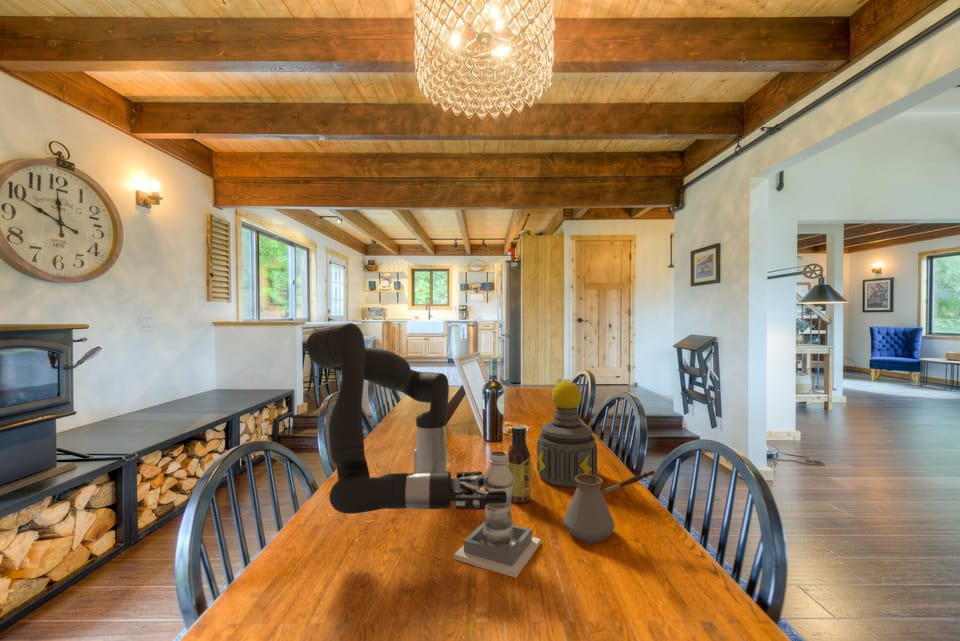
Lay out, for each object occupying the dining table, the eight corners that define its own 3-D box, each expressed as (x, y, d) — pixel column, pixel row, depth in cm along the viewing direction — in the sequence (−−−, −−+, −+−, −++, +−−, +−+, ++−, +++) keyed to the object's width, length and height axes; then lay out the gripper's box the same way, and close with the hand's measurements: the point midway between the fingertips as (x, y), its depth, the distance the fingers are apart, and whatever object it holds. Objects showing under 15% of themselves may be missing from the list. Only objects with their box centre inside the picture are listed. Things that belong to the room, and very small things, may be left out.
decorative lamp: (572, 462, 146) (572, 375, 146) (611, 482, 129) (610, 383, 129) (525, 471, 138) (524, 379, 138) (560, 493, 121) (559, 388, 121)
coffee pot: (567, 547, 93) (567, 478, 93) (560, 521, 105) (560, 460, 105) (667, 549, 92) (667, 480, 92) (649, 523, 104) (649, 462, 103)
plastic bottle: (481, 539, 95) (481, 449, 94) (511, 537, 95) (511, 448, 95) (483, 555, 88) (484, 459, 88) (516, 553, 89) (516, 458, 89)
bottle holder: (454, 559, 89) (454, 542, 89) (484, 528, 101) (484, 514, 101) (516, 577, 82) (516, 559, 82) (540, 543, 95) (540, 527, 95)
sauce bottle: (529, 505, 114) (529, 431, 114) (506, 503, 115) (505, 429, 115) (531, 495, 120) (531, 424, 120) (509, 493, 121) (509, 423, 121)
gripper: (425, 486, 84) (508, 484, 85) (431, 461, 98) (501, 459, 99) (426, 523, 84) (508, 521, 85) (431, 493, 98) (501, 492, 99)
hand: (504, 488), depth 92 cm, fingers open, 8 cm apart
